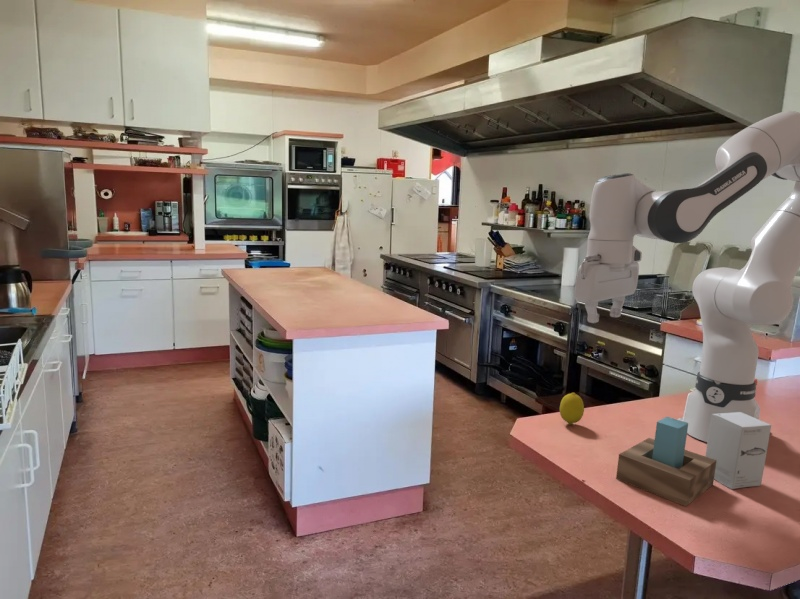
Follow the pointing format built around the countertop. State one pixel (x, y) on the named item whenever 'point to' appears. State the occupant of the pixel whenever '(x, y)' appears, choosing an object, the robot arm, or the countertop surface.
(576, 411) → the lemon
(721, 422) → the supplement box
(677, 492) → the well block
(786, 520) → the countertop surface
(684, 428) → the blue square pillar
